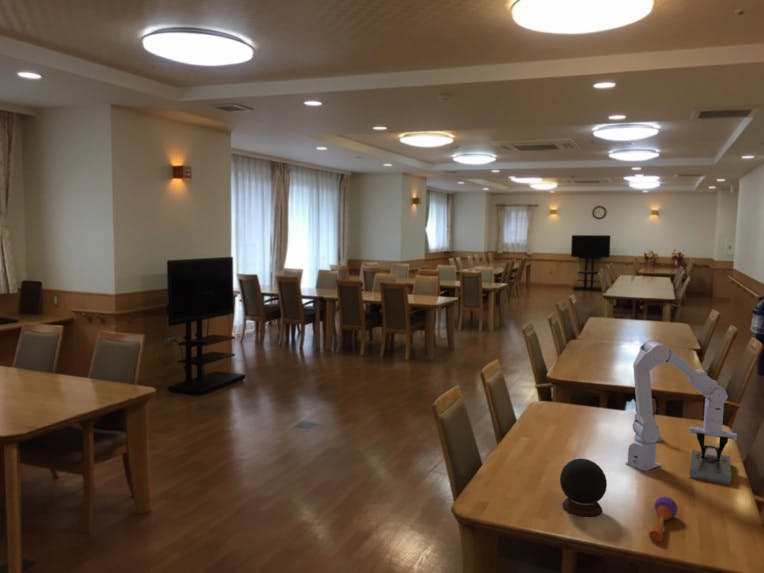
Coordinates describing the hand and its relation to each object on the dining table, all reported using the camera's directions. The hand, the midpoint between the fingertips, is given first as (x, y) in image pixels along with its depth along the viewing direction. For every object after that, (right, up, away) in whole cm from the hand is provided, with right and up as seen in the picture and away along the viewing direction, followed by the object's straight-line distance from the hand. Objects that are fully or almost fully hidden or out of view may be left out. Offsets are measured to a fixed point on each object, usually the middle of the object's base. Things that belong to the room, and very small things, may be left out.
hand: (711, 456), depth 210 cm
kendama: (-37, -8, -42) cm, 57 cm away
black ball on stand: (-56, -7, -32) cm, 65 cm away
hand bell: (-8, -1, +29) cm, 30 cm away
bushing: (0, -2, 0) cm, 2 cm away
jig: (-2, -4, -3) cm, 6 cm away
